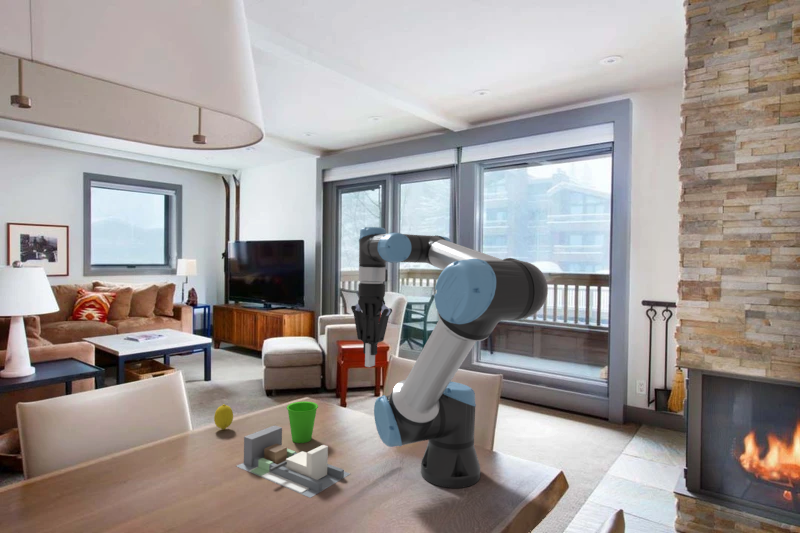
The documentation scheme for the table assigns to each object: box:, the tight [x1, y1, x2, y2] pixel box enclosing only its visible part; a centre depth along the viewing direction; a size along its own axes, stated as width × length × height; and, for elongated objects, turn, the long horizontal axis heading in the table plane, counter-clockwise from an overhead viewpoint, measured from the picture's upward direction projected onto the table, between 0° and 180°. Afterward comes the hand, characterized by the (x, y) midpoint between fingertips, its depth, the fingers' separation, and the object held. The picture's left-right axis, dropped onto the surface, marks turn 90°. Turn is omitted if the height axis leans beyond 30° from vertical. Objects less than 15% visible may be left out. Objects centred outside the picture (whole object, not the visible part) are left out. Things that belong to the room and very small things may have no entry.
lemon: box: [213, 403, 234, 431], centre depth 142 cm, size 6×6×8 cm
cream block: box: [270, 444, 329, 480], centre depth 109 cm, size 9×11×7 cm
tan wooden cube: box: [264, 444, 288, 465], centre depth 117 cm, size 4×4×4 cm
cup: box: [286, 401, 319, 444], centre depth 133 cm, size 9×9×11 cm
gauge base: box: [235, 425, 351, 499], centre depth 114 cm, size 26×14×8 cm, turn 57°
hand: (369, 365), depth 128 cm, fingers closed
